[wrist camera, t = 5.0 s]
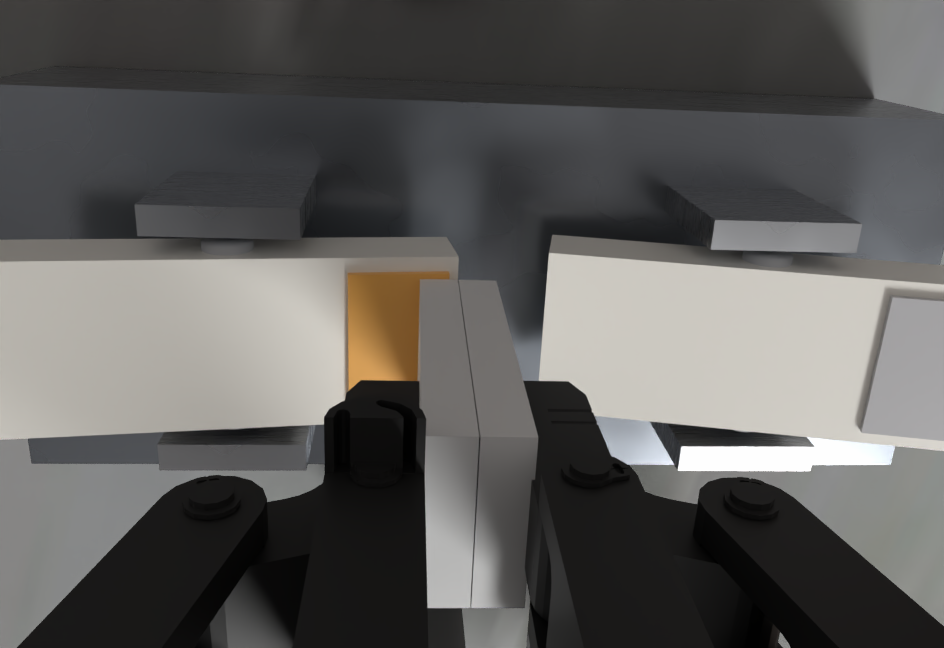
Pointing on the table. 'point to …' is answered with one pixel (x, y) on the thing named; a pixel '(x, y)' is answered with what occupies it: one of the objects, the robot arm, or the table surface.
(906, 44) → the table surface
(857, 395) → the paddle
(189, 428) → the paddle
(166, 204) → the panel
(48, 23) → the table surface
